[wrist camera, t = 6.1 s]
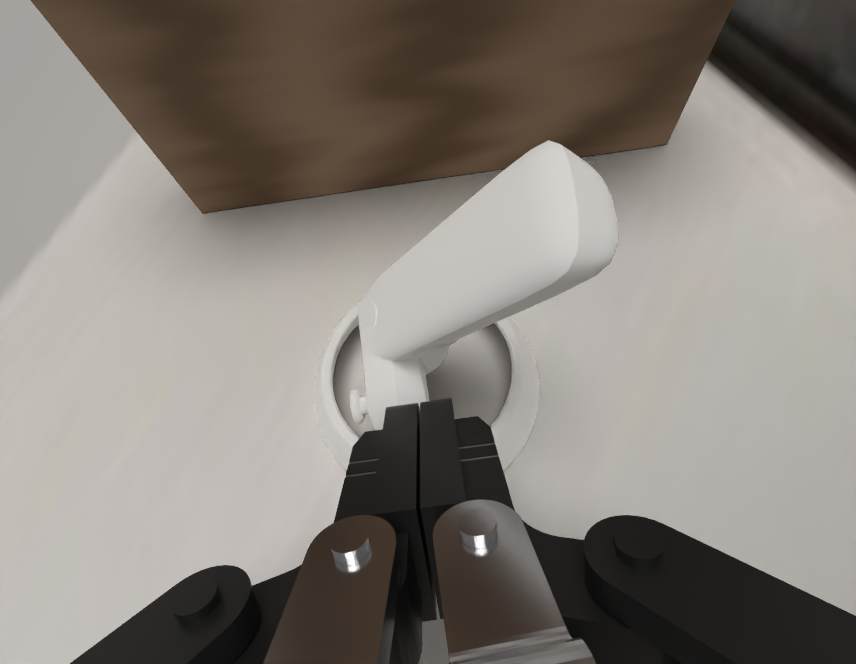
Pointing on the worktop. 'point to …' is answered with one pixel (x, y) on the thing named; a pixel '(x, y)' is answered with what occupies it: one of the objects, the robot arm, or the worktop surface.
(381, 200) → the worktop surface
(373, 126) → the wall board
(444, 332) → the white lever switch
